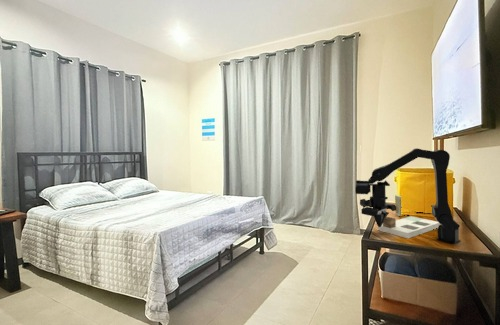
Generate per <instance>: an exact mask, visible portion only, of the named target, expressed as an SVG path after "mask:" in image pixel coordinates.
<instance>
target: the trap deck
mask: <svg viewBox="0 0 500 325" xmlns="http://www.w3.org/2000/svg"><path fill="white" fill-rule="evenodd" d="M439 225H441V224H440V223H439V222H438V221H437V220H431V219H426V218H421V217H417V216H412V215H410V216H406V217H403V218H400V219H396V227H393V228H388V227H384V226H383V224H382V226H381V227H378V226H377V227H378V231H380V232H384V233H387V234H391V235H394V236H398V237H401V238H405V239H411V238H413V237H416V236H419V234H420V235H422V234H425V233H427V232H428V233H429V232H430V231H434V230H437V229H438V227H439ZM436 228H437V229H436ZM433 229H434V230H433Z"/></svg>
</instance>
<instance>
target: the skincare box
mask: <svg viewBox="0 0 500 325" xmlns="http://www.w3.org/2000/svg"><path fill="white" fill-rule="evenodd" d="M399 195H400V194H398V195H397V194H396V195H395V196H394V200H395V201H394V202H395V206H396V210H395V216H397V217H399V216H401V208H402V207H401V196H399Z"/></svg>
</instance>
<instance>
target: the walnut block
mask: <svg viewBox="0 0 500 325" xmlns="http://www.w3.org/2000/svg"><path fill="white" fill-rule="evenodd" d="M396 220H397V219H396V217H395V218H393V217H390V216H387V217H386V218H385V220H384V222H383V226H384V227H388V228H393V227H396Z"/></svg>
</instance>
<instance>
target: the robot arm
mask: <svg viewBox="0 0 500 325" xmlns="http://www.w3.org/2000/svg"><path fill="white" fill-rule="evenodd" d="M418 158H421V159H427V160H430V161H431V162H430V163H431V164H432V167H433V170H434V182H435V184H434V185H435V187H434V188H435V199H436V200H435V204H433V205H431V207H432V213H431V214H430V215H432V216H433V218H434V219H435V221H436V222H439V223H440V225H439V228H437V229H436V230H437V233H436V234H437V235H436V236H437V237H436V241H441V242H444V243H448V244H452V245H455V244H457V243H460V242H461V240H462V239H460V238H459V237H460V236H459V235H460V232H459V231H460V230H459V229H460V224H458V222H457V221H455V219H454V217H453V214H452V211H451V208H450V204H449V200H448V199H449V195H448V179H447V178H448V177H447V176H448V175H447V170H448V168H449V164H450V158H451V156H450V153H449V152H448V151H446V150H444V149H434V150H426V149H421V148H413V149H412V150H410V151H408V153H407V152H406V153H405V154H404V155H402V156H401V157H399V158H397V159H395V160H393V161H392V162H390V163H389V164H385V165H382V166H380V167H377V168H375V169H373V170H372V172H371V176H370V178H368V180H360V179H359V180H358V179H356V180H355V195H369V194H370V193H371V195H372V196H371V195H370V197H369V199H366V198H362V199H359V205H360V206H361V207H362V209H361V212H360V213H361V214H362V215H366V216H370V217H373V219H374V220H375V222H376V225H377V227H381V226H382V224H383V222H384V220H385V218H386V217H388V215H389V214H390V212H389V211H387V210H391V211H392V212H396V206H395V204H394V203H389V202H387V200H388V198H389V197H388V196H386V187H390V186H391V185H390V183H389V182H388V181H387V180H386V178H388V177H389V176H390V175H391V174H392V173H394V172H395V171H396V170H398V169H401V168H402V167H404V166H405V165H407V164H409V163H410V162H412V161H413V162H414V160H416V159H418ZM376 182H377V183H376Z"/></svg>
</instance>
